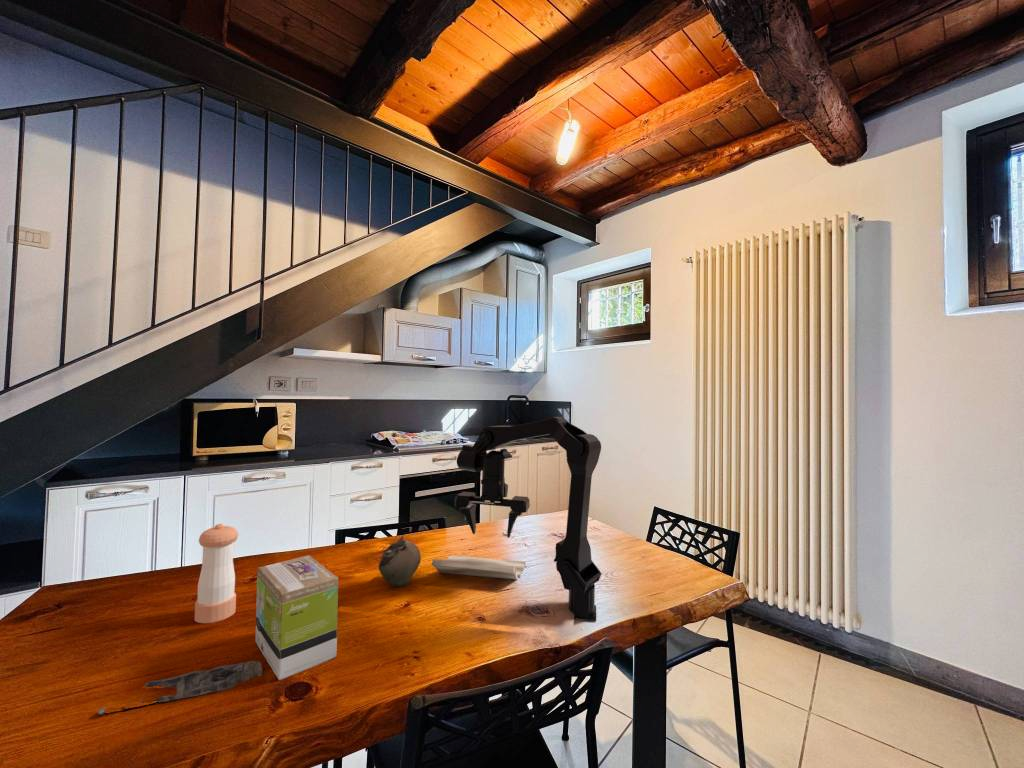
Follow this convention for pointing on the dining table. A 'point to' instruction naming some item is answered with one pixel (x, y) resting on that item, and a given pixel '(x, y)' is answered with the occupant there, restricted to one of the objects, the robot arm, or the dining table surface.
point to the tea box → (296, 615)
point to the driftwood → (206, 680)
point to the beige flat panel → (490, 562)
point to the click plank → (475, 569)
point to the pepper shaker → (216, 575)
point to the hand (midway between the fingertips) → (491, 535)
